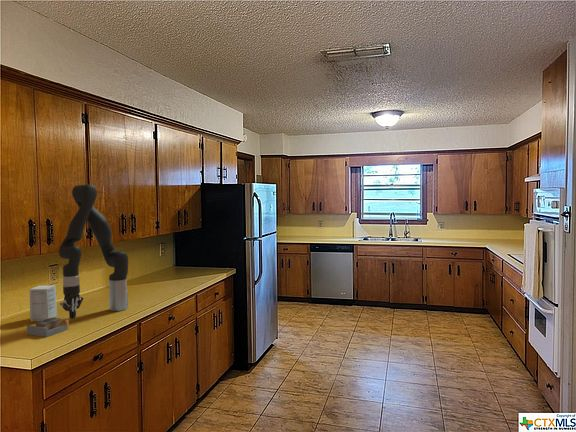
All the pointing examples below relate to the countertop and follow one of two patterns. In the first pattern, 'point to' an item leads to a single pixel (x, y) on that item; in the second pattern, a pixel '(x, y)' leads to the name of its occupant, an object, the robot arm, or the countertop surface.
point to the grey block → (50, 323)
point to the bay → (46, 330)
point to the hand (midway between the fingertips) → (72, 318)
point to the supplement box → (43, 303)
